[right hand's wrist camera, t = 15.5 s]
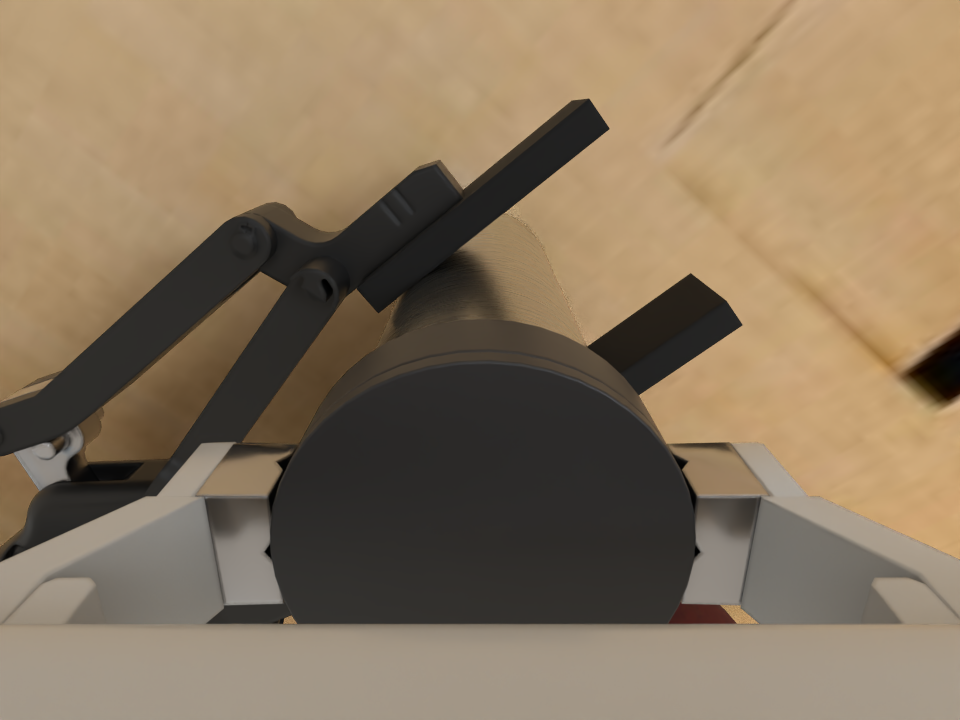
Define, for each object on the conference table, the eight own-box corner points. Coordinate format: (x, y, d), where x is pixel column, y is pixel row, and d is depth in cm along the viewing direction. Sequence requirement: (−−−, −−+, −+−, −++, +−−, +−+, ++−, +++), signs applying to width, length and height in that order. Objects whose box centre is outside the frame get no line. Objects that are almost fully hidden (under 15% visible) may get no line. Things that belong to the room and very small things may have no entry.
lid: (734, 494, 10) (782, 565, 9) (476, 679, 11) (476, 769, 10) (490, 234, 9) (492, 261, 7) (227, 483, 10) (180, 552, 8)
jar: (528, 353, 24) (594, 685, 10) (402, 324, 23) (291, 630, 10) (564, 227, 22) (703, 419, 8) (429, 194, 22) (340, 338, 8)
